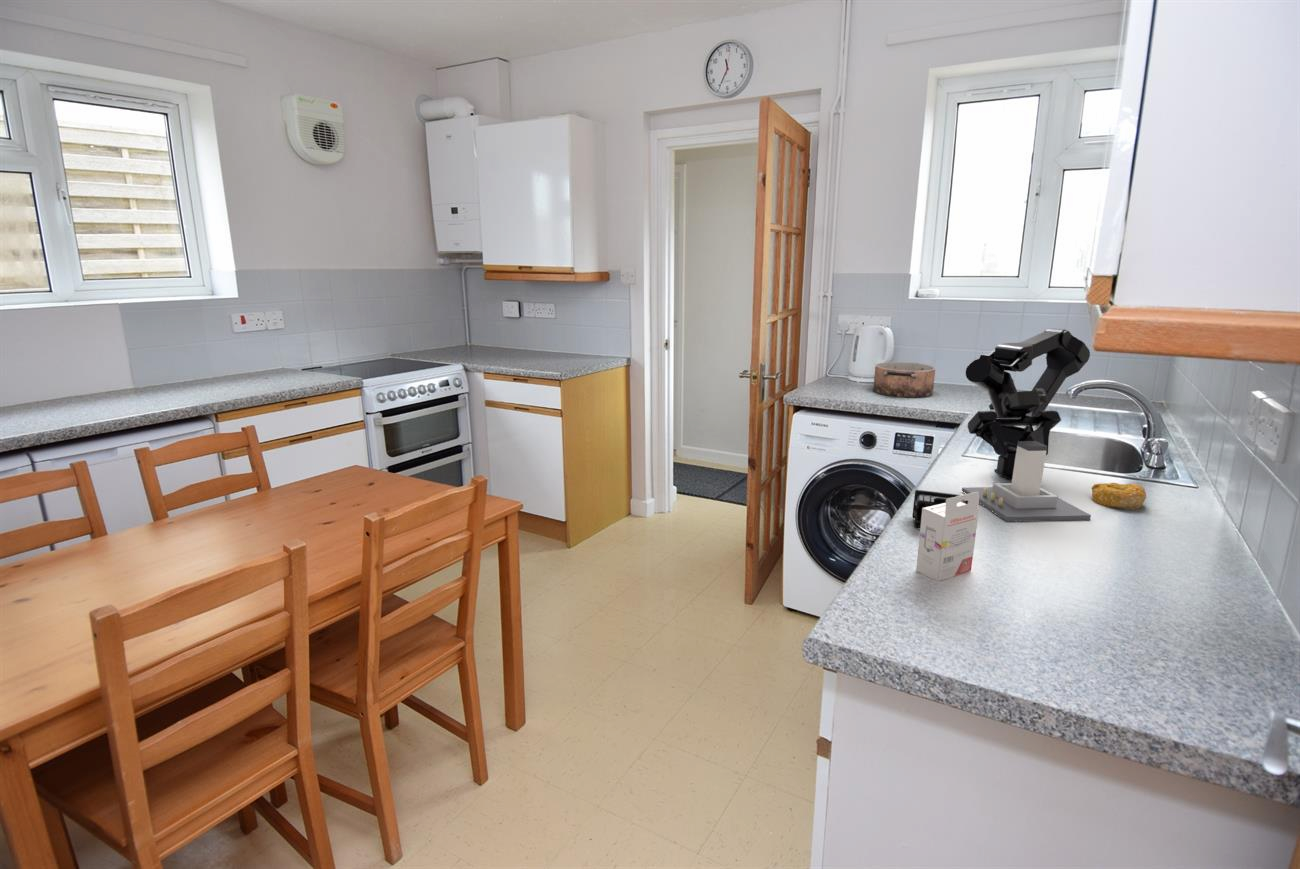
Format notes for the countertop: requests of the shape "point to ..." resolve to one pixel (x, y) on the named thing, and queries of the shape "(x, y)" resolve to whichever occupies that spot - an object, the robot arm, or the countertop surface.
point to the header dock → (1026, 504)
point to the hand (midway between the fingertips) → (1025, 455)
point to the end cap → (928, 502)
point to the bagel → (1119, 495)
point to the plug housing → (1028, 468)
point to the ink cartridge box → (948, 537)
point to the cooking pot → (904, 379)
